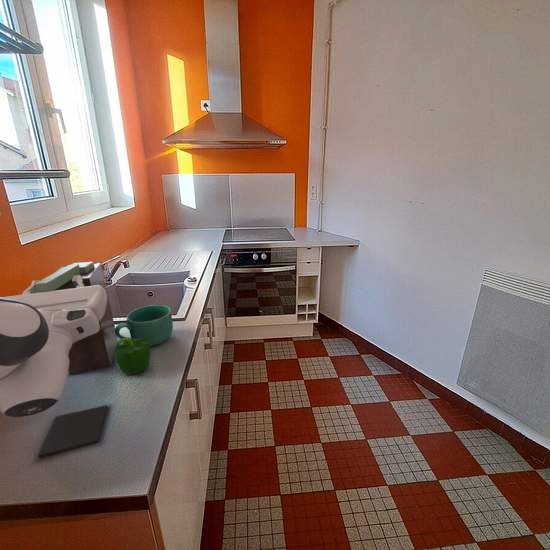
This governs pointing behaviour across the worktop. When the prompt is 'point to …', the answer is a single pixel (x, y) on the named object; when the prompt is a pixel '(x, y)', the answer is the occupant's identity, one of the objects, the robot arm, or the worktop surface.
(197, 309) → the worktop surface
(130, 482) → the worktop surface
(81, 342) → the stand
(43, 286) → the hammer
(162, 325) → the mug
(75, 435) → the mat
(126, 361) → the bell pepper
